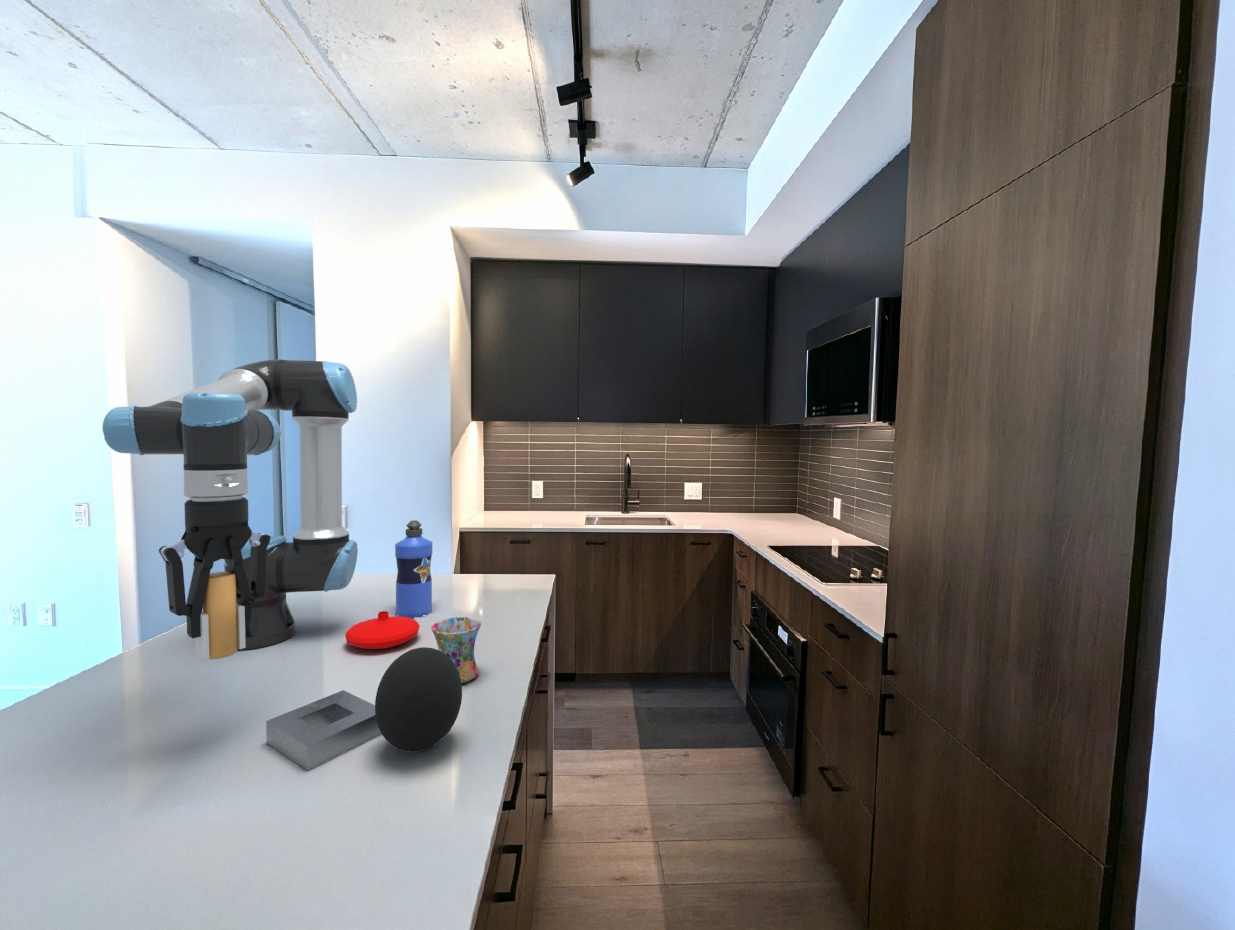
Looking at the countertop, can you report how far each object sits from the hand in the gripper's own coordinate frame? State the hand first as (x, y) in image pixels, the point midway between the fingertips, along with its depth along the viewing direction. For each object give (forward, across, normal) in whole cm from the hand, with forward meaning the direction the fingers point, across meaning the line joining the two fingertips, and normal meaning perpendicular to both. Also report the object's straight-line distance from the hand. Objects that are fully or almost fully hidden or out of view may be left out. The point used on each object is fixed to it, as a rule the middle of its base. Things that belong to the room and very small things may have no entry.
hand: (221, 651), depth 79 cm
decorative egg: (+15, +16, -25) cm, 33 cm away
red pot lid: (+15, +38, +17) cm, 44 cm away
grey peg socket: (+14, +10, -11) cm, 21 cm away
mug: (+15, +36, -10) cm, 40 cm away
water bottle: (+16, +55, +29) cm, 64 cm away
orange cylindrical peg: (0, 0, 0) cm, 0 cm away
